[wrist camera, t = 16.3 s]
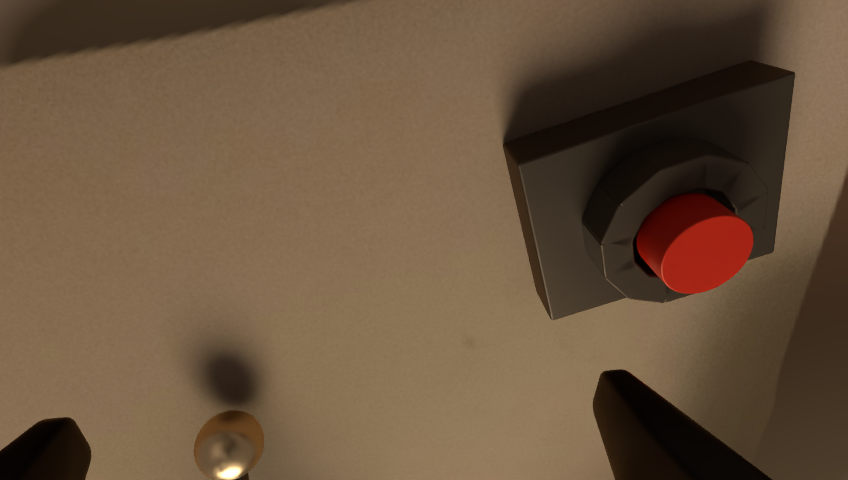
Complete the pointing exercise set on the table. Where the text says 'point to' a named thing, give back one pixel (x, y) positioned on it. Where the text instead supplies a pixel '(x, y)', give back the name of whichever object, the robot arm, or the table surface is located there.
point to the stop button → (694, 242)
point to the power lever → (229, 446)
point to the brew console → (647, 180)
